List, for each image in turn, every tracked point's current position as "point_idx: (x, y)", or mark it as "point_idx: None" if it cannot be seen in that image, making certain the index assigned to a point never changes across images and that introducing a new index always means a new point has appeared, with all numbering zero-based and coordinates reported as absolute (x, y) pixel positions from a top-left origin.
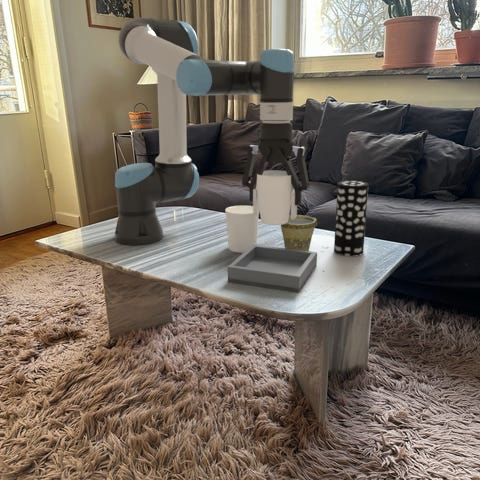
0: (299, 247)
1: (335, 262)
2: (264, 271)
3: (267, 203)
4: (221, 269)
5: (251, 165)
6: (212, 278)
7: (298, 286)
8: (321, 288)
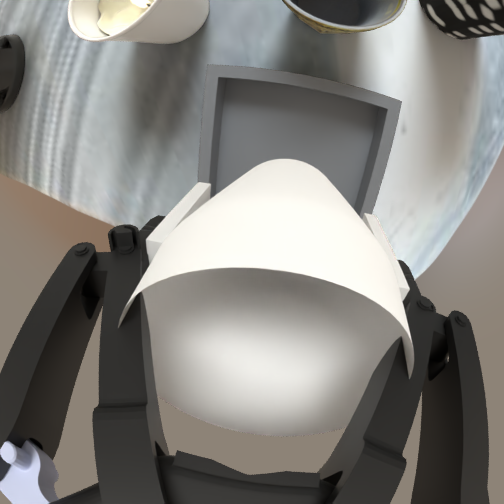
0: (344, 32)
1: (429, 74)
2: None
3: (256, 316)
4: (170, 156)
5: (63, 378)
6: (173, 204)
7: None
8: (391, 220)
